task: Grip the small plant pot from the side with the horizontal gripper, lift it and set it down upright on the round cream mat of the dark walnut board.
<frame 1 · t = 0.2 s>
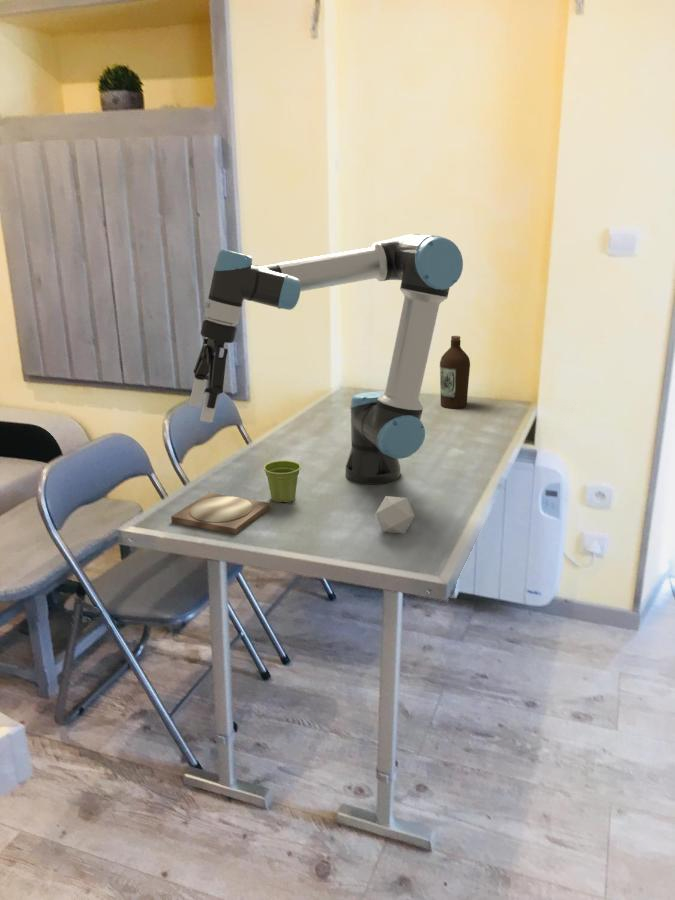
hand: (200, 413, 170), 27 cm above the table, tool tilted 15°, fingers open, 13 cm apart
walnut board: (221, 515, 183), on the table
plant pot: (283, 499, 192), on the table
die: (395, 530, 173), on the table
olive oil: (453, 405, 271), on the table
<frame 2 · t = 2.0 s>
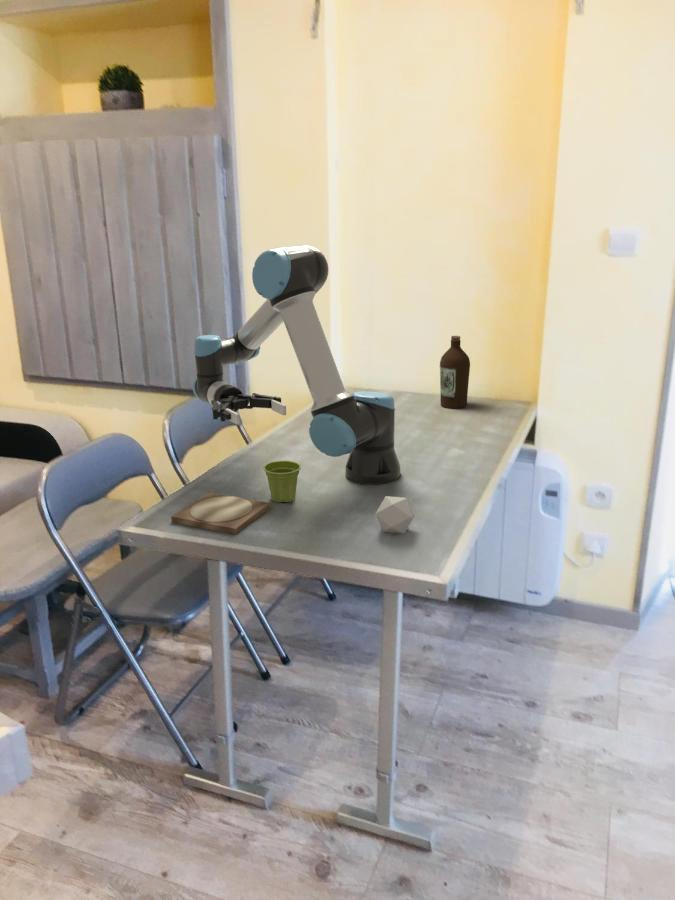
hand: (262, 414, 193), 20 cm above the table, tool horizontal, fingers open, 13 cm apart
nothing on the table moved.
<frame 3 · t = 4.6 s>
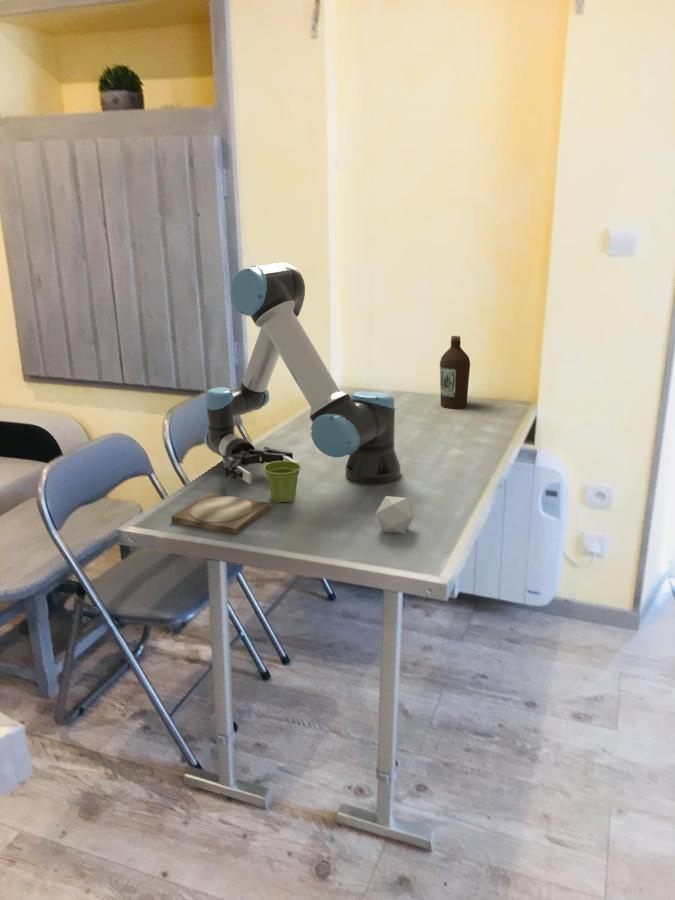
hand: (273, 472, 193), 6 cm above the table, tool horizontal, fingers open, 13 cm apart
nothing on the table moved.
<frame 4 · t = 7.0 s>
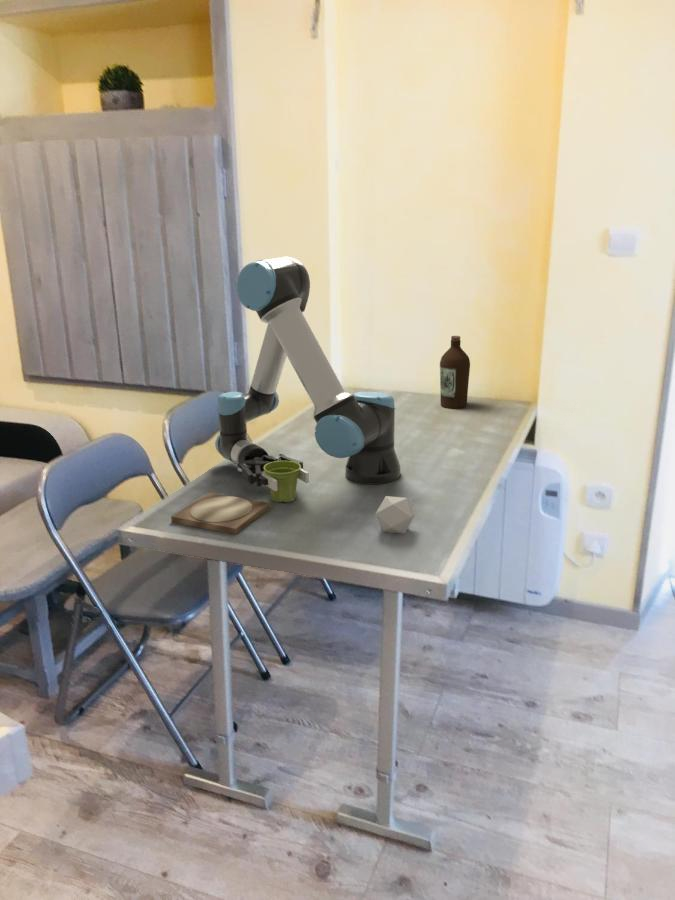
hand: (291, 481, 186), 6 cm above the table, tool horizontal, fingers closed on plant pot, 8 cm apart
plant pot: (283, 498, 192), on the table, touching gripper
everything else where it was.
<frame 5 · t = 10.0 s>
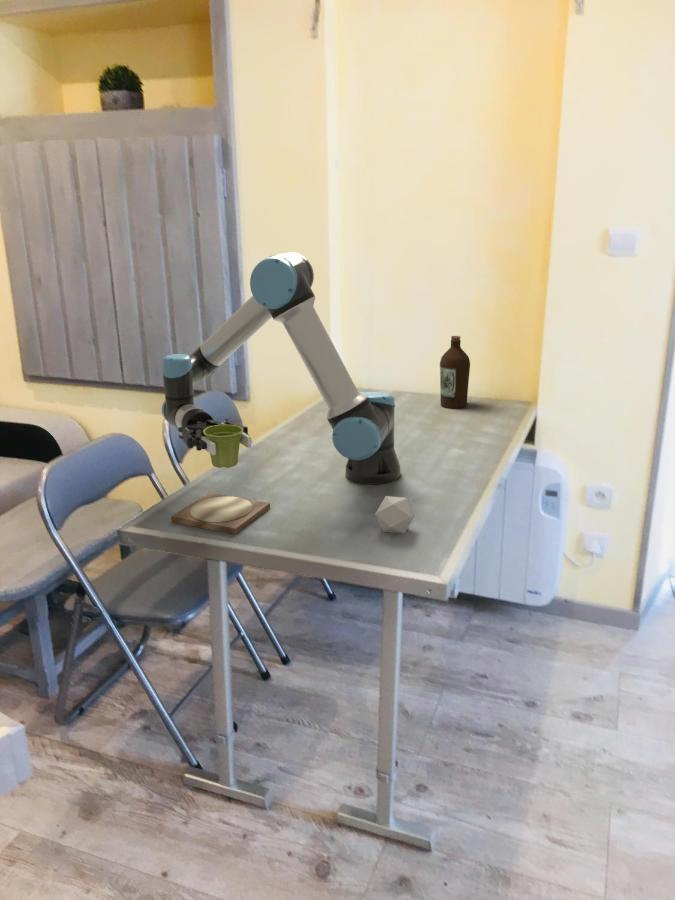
hand: (232, 445, 175), 18 cm above the table, tool horizontal, fingers closed on plant pot, 8 cm apart
plant pot: (225, 464, 181), point 12 cm above the table, touching gripper
everything else where it was.
when the fingers open (9 cm above the table, at t = 13.2 s): plant pot drops 1 cm, point 2 cm above the table.
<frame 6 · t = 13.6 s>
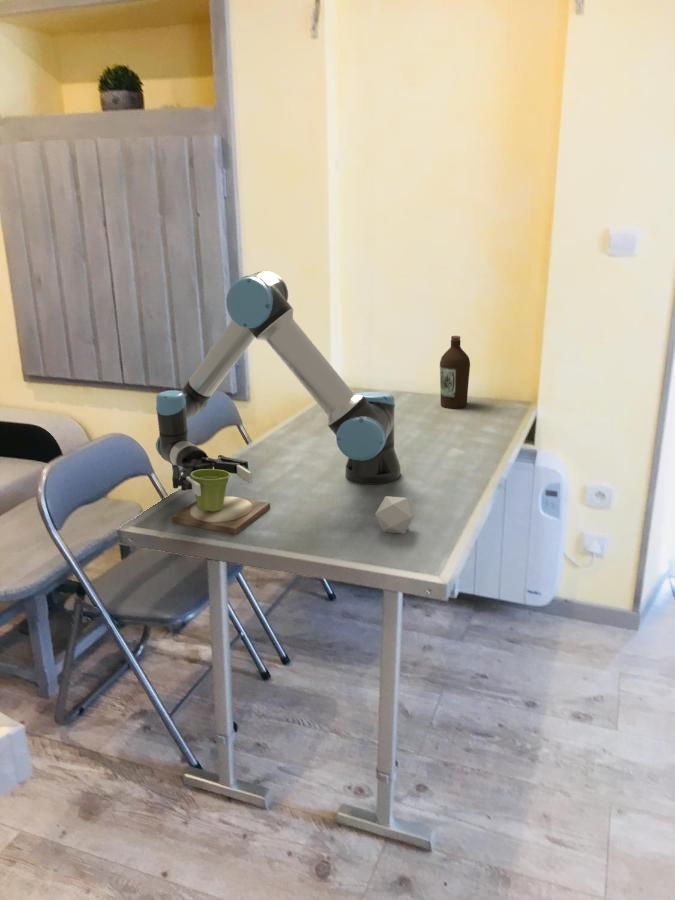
hand: (225, 484, 177), 9 cm above the table, tool horizontal, fingers open, 13 cm apart
plant pot: (210, 509, 182), point 2 cm above the table, touching gripper
everything else where it was.
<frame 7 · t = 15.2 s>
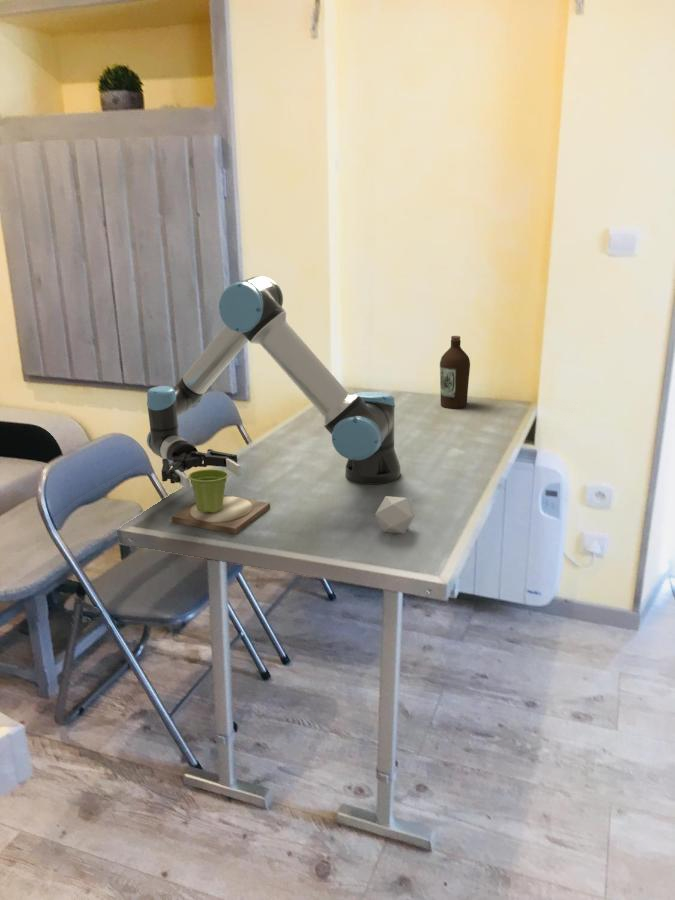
hand: (213, 476, 181), 9 cm above the table, tool horizontal, fingers open, 13 cm apart
plant pot: (210, 509, 182), point 2 cm above the table, touching walnut board
everything else where it was.
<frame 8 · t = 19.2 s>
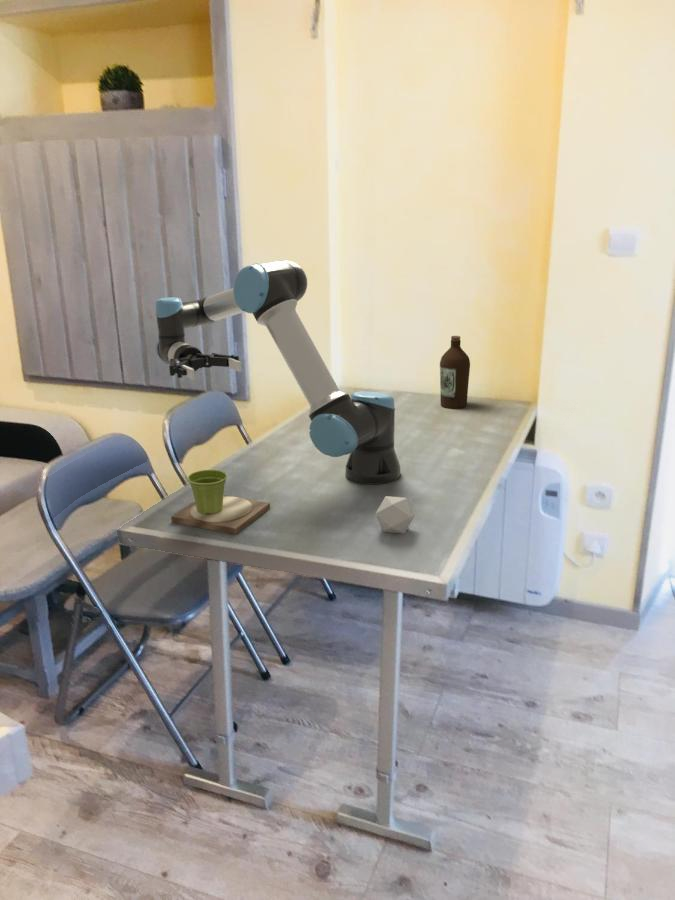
hand: (217, 370, 197), 30 cm above the table, tool horizontal, fingers open, 13 cm apart
nothing on the table moved.
at the end: plant pot inside the target area on the walnut board (2.7 cm from its centre), point 1.6 cm above the walnut board's base; plant pot tilted 0°; the gripper is holding nothing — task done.
